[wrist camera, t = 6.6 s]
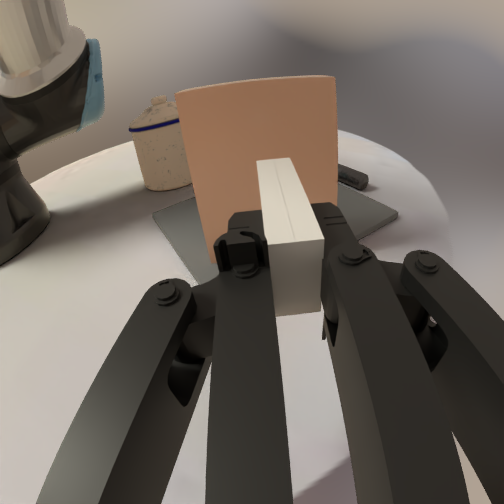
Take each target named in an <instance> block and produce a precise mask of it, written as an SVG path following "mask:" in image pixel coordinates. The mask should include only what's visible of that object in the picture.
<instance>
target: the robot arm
mask: <svg viewBox="0 0 504 504" xmlns="http://www.w3.org/2000/svg"><path fill="white" fill-rule="evenodd" d="M103 113H104V86H103V78H102V62H101V53H100V46H99V42H98V40H97V39H87V40H86V38H85V34H84V33H83V31H82V30H81V29H80V28H78V27H75V26H71V25H69V24H68V19H67V15H66V9H65V4H64V0H0V265H1V264H2V263H4V262H6V261H7V260H9V259H10V258H12V257H13V256H15V255H16V254H17V253H19V252H20V251H21V250H23V249H24V248H25V247H26V246H27V245H29V244H30V243H31V242H32V241H33V240H34V239H35V238H36V237H37V236H38V235H39V234H40V233H41V232H42V231H43V230H44V228H45V227H46V226H47V224H48V222H49V220H50V214H49V212H48V209H47V207H46V204H45V203H44V201H43V200H42V199H41V198H40V196H39V195H38V194H37V193H36V191H35V190H34V189H33V188H32V187H31V185H30V184H29V183H28V182H27V181H26V179H25V178H24V176H23V175H22V172H21V170H20V167H19V164H18V161H17V158H18V157H20V156H22V155H24V154H26V153H28V152H30V151H32V150H34V149H36V148H38V147H41V146H43V145H45V144H47V143H49V142H51V141H54V140H57V139H59V138H61V137H64V136H66V135H68V134H71V133H74V132H78V131H80V130H81V129H82V128H84V127H86V126H88V125H90V124H93V123H95V122H97V121H98V120H99V119H100V118H101V117H102V115H103ZM256 162H257V171H258V180H259V188H260V197H261V206H262V210H253V211H244V212H235V213H234V214H233V215H232V216H231V218H230V219H229V220H228V230H227V233H225V234H223V235H221V236H220V237H219V238H218V239H217V240H216V241H215V243H214V245H213V248H214V253H215V257H216V261H217V265H218V270H219V274H218V275H217V276H216V277H215V278H213V279H212V280H210V281H208V282H206V283H203V284H200V285H197V286H194V287H190V284H188V283H187V282H186V281H185V280H181V279H177V278H174V279H166V280H163V281H160V282H158V283H156V284H155V285H153V286H151V287H150V288H149V290H148V291H147V292H146V293H145V294H144V296H143V298H142V299H141V301H140V302H139V304H138V306H137V307H136V309H135V310H134V312H133V314H132V315H131V317H130V319H129V320H128V322H127V324H126V325H125V327H124V329H123V330H122V332H121V334H120V335H119V337H118V339H117V340H116V342H115V344H114V346H113V347H112V349H111V351H110V353H109V354H108V356H107V358H106V360H105V361H104V363H103V365H102V367H101V368H100V370H99V372H98V374H97V376H96V378H95V379H94V381H93V383H92V385H91V387H90V389H89V390H88V392H87V394H86V396H85V398H84V400H83V402H82V404H81V406H80V408H79V410H78V412H77V414H76V416H75V417H74V419H73V421H72V424H71V426H70V428H69V430H68V432H67V434H66V436H65V438H64V440H63V442H62V444H61V446H60V448H59V451H58V453H57V455H56V457H55V459H54V462H53V464H52V466H51V468H50V471H49V473H48V475H47V478H46V480H45V482H44V485H43V487H42V489H41V492H40V494H39V497H38V499H37V502H36V504H161V502H162V499H163V497H164V494H165V491H166V488H167V485H168V482H169V480H170V477H171V474H172V471H173V468H174V466H175V463H176V460H177V457H178V454H179V452H180V449H181V446H182V443H183V440H184V437H185V435H186V432H187V429H188V426H189V423H190V421H191V418H192V415H193V412H194V409H195V407H196V404H197V401H198V398H199V395H200V393H201V390H202V387H203V384H204V381H205V378H206V376H207V373H208V370H209V367H210V364H211V362H212V366H211V382H210V398H209V417H208V437H207V462H206V495H205V504H293V495H292V483H291V470H290V459H289V447H288V436H287V425H286V415H285V404H284V394H283V384H282V374H281V364H280V354H279V345H278V335H277V326H276V317H277V316H286V315H295V314H303V313H312V312H319V311H321V301H322V305H323V309H324V320H323V331H322V340H325V339H326V337H327V342H328V346H329V350H330V355H331V359H332V364H333V368H334V373H335V378H336V382H337V387H338V392H339V397H340V402H341V407H342V412H343V417H344V423H345V428H346V434H347V439H348V445H349V451H350V457H351V463H352V468H353V475H354V481H355V488H356V496H357V503H358V504H470V503H469V498H468V493H467V488H466V483H465V479H464V475H463V471H462V467H461V463H460V459H459V455H458V452H457V448H456V445H455V442H454V438H453V434H454V436H455V437H456V439H457V441H458V442H459V444H460V446H461V447H462V449H463V451H464V453H465V454H466V456H467V458H468V460H469V461H470V463H471V465H472V467H473V468H474V470H475V472H476V474H477V476H478V478H479V480H480V482H481V483H482V485H483V487H484V489H485V491H486V493H487V495H488V497H489V499H490V501H491V503H492V504H504V321H503V320H502V319H501V318H500V317H499V315H498V314H497V313H496V312H495V311H494V310H493V309H492V308H491V307H490V306H489V304H488V303H487V302H486V301H485V300H484V299H483V298H482V297H481V296H480V295H479V294H478V293H477V292H476V291H475V290H474V289H473V288H472V287H471V286H470V285H469V284H468V283H467V282H466V281H465V280H464V279H463V278H462V277H461V276H460V275H459V274H458V273H457V272H456V271H455V270H454V269H453V268H452V267H451V266H450V265H449V264H447V263H446V262H445V261H444V260H443V259H442V258H441V257H439V256H438V255H436V254H434V253H432V252H429V251H424V250H416V251H412V252H410V253H408V254H407V255H406V257H405V259H404V262H403V264H402V263H393V262H385V261H380V260H378V259H377V257H376V256H375V254H374V253H373V252H372V251H371V250H370V249H369V248H367V247H365V246H363V245H360V244H359V243H358V241H357V239H356V237H355V235H354V234H353V232H352V230H351V228H350V226H349V224H347V221H346V219H345V217H344V216H343V214H342V212H341V210H340V208H338V207H337V206H335V205H334V204H332V203H331V202H324V203H313V204H310V203H309V200H308V198H307V196H306V193H305V191H304V189H303V186H302V184H301V182H300V179H299V177H298V175H297V173H296V170H295V168H294V166H293V164H292V161H291V159H290V158H279V159H268V160H259V161H256ZM431 316H432V318H433V319H434V320H435V321H436V322H437V324H434V323H433V322H432V321H431V320H430V317H431ZM452 432H453V434H452Z"/></svg>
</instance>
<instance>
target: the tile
mask: <svg viewBox="0 0 504 504" xmlns="http://www.w3.org/2000/svg"><path fill="white" fill-rule="evenodd" d="M175 100H176V105H177V111H178V116H179V121H180V126H181V131H182V136H183V141H184V146H185V151H186V156H187V161H188V165H189V170H190V175H191V179H192V184H193V188H194V193H195V197H196V202H197V206H198V211H199V215H200V219H201V224H202V228H203V232H204V236H205V240H206V244H207V249H208V253H209V257H210V261H211V264H212V263H217V261H216V257H215V253H214V248H213V245H214V243H215V241H216V240H217V239H218V238H219V237H220V236H221V235H223V234H225V233H227V230H228V220H229V219H230V218H231V216H232V215H233V214H234V213H235V212H244V211H253V210H262V206H261V197H260V188H259V180H258V171H257V162H256V161H259V160H268V159H279V158H290V159H291V161H292V164H293V166H294V168H295V170H296V173H297V175H298V177H299V179H300V182H301V184H302V186H303V189H304V191H305V193H306V196H307V198H308V200H309V203H310V204H313V203H324V202H331V203H332V204H334V205H335V206H337V191H338V133H337V103H336V84H335V77H331V76H325V75H313V76H287V77H273V78H261V79H251V80H243V81H235V82H227V83H220V84H214V85H208V86H202V87H196V88H191V89H186V90H182V91H180V92H177V93H175Z"/></svg>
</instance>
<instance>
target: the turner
mask: <svg viewBox="0 0 504 504" xmlns="http://www.w3.org/2000/svg"><path fill="white" fill-rule="evenodd" d="M338 180H339V181H341V182H344V183H346V184H348V185H351V186H353V187H355V188H357V189H360V190H363V189H365V188H366V186H367V184H368V176H367V175H366V174H364V173H361V172H359V171H356V170H354V169H351V168H348V167H346V166H343V165H340V164H338Z"/></svg>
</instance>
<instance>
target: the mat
mask: <svg viewBox="0 0 504 504" xmlns="http://www.w3.org/2000/svg"><path fill="white" fill-rule="evenodd" d="M337 207H338V208H340V210H341V212H342V214H343V216H344V217H345V219H346V221H347V224H349V226H350V228H351V230H352V232H353V234H354V235H355V237H356V239H357V241H358V240H359V239H361V238H363V237H365V236H366V235H368V234H370V233H372V232H373V231H375V230H377V229H379V228H380V227H382V226H384V225H385V224H387V223H389V222H391V221H392V220H394V219H396V218H397V216H398V212H397V211H395V210H393V209H391V208H389V207H387V206H385V205H383V204H381V203H379V202H377V201H375V200H373V199H371V198H369V197H366V196H364V195H362V194H360V193H358V192H356V191H353V190H351V189H349V188H347V187H344V186H342V185H340V184H338V191H337ZM152 215H153V218H154V220H155V221H156V223H157V224H158V226H159V227H160V229H161V230H162V232H163V233H164V235H165V236H166V238H167V239H168V241H169V242H170V244H171V245H172V247H173V248H174V250H175V251H176V253H177V254H178V255H179V257H180V258H181V260H182V261H183V263H184V264H185V265H186V267H187V268H188V270H189V271H190V273H191V274H192V275H193V277H194V278H195V280H196V281H197V282H198V284H199V285H200V284H203V283H206V282H208V281H210V280H212V279H213V278H215V277H216V276H217V275H218V274H219V270H218V265H217V263H212V264H211V261H210V257H209V253H208V249H207V244H206V240H205V236H204V232H203V228H202V224H201V219H200V215H199V211H198V206H197V202H196V197H194V198H191V199H188V200H186V201H183V202H180V203H178V204H175V205H173V206H170V207H167V208H165V209H162V210H160V211H157V212H155V213H152Z"/></svg>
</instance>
